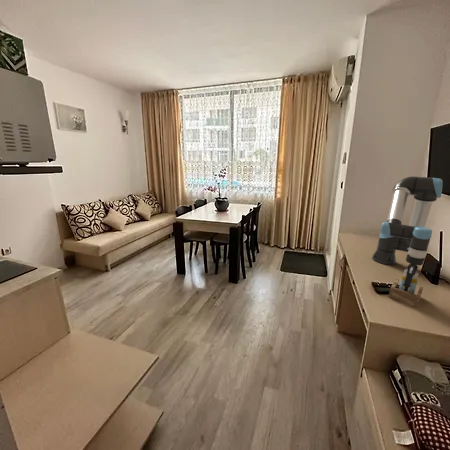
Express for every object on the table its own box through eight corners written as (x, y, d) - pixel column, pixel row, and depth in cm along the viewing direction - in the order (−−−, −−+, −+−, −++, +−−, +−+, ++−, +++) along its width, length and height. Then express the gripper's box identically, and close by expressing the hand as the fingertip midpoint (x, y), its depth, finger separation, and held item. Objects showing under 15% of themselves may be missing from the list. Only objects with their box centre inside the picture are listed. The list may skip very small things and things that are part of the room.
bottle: (415, 300, 133) (422, 275, 129) (400, 298, 134) (407, 273, 130) (408, 293, 139) (415, 269, 135) (395, 291, 141) (401, 267, 137)
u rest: (393, 288, 145) (396, 279, 144) (420, 297, 137) (423, 287, 135) (388, 297, 135) (390, 287, 134) (416, 307, 127) (419, 297, 125)
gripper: (410, 249, 140) (400, 285, 146) (403, 258, 126) (393, 298, 132) (427, 253, 135) (416, 290, 141) (422, 263, 121) (410, 304, 127)
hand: (405, 294), depth 137 cm, fingers closed on bottle, 7 cm apart
